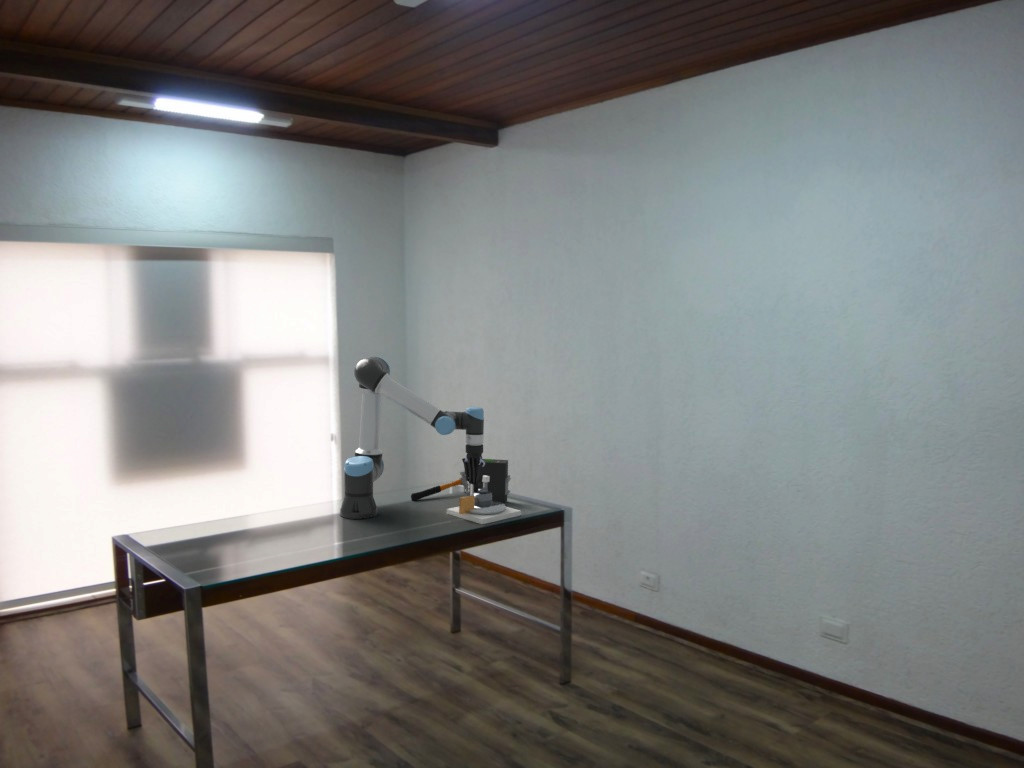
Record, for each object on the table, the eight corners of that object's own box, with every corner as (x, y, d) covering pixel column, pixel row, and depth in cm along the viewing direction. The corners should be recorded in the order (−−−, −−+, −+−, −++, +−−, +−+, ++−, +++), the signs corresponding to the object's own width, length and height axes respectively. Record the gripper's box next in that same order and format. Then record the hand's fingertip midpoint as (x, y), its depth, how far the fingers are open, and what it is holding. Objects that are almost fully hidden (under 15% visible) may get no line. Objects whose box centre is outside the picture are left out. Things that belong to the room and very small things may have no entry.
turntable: (446, 509, 337) (446, 494, 336) (485, 501, 352) (485, 486, 351) (474, 518, 324) (475, 502, 323) (514, 509, 339) (514, 494, 339)
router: (470, 499, 366) (471, 455, 364) (510, 501, 363) (511, 457, 361) (467, 503, 358) (468, 459, 356) (507, 505, 355) (508, 460, 354)
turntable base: (446, 513, 340) (447, 480, 338) (485, 505, 355) (485, 474, 354) (482, 524, 324) (482, 490, 323) (520, 515, 339) (521, 482, 338)
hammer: (412, 488, 358) (467, 471, 376) (408, 487, 361) (462, 469, 379) (415, 512, 360) (470, 493, 378) (411, 510, 363) (465, 491, 381)
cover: (469, 504, 340) (469, 488, 339) (482, 501, 346) (483, 485, 345) (481, 507, 334) (482, 491, 334) (495, 504, 340) (496, 489, 339)
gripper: (457, 442, 344) (456, 497, 346) (478, 446, 334) (477, 502, 337) (470, 440, 349) (470, 494, 351) (491, 445, 340) (490, 500, 342)
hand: (473, 498), depth 344 cm, fingers closed
